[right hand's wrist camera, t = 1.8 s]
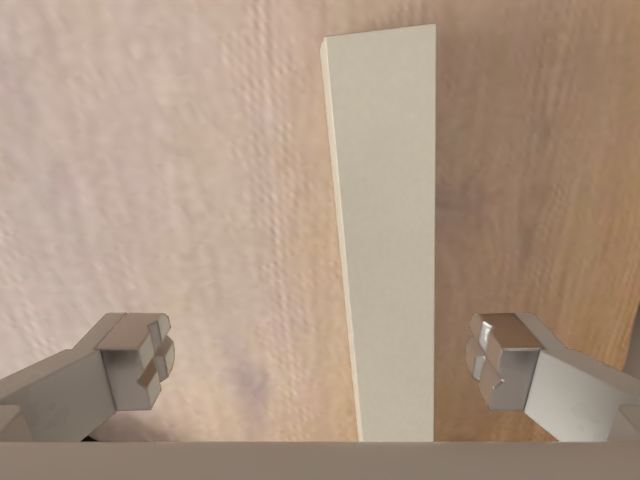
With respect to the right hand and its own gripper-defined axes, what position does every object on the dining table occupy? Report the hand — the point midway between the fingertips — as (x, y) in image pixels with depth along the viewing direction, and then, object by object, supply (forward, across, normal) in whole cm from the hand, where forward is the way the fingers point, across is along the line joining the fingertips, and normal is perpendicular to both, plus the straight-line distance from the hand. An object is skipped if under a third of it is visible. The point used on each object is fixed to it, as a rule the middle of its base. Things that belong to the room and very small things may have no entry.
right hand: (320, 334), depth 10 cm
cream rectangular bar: (+21, +6, -18) cm, 28 cm away
